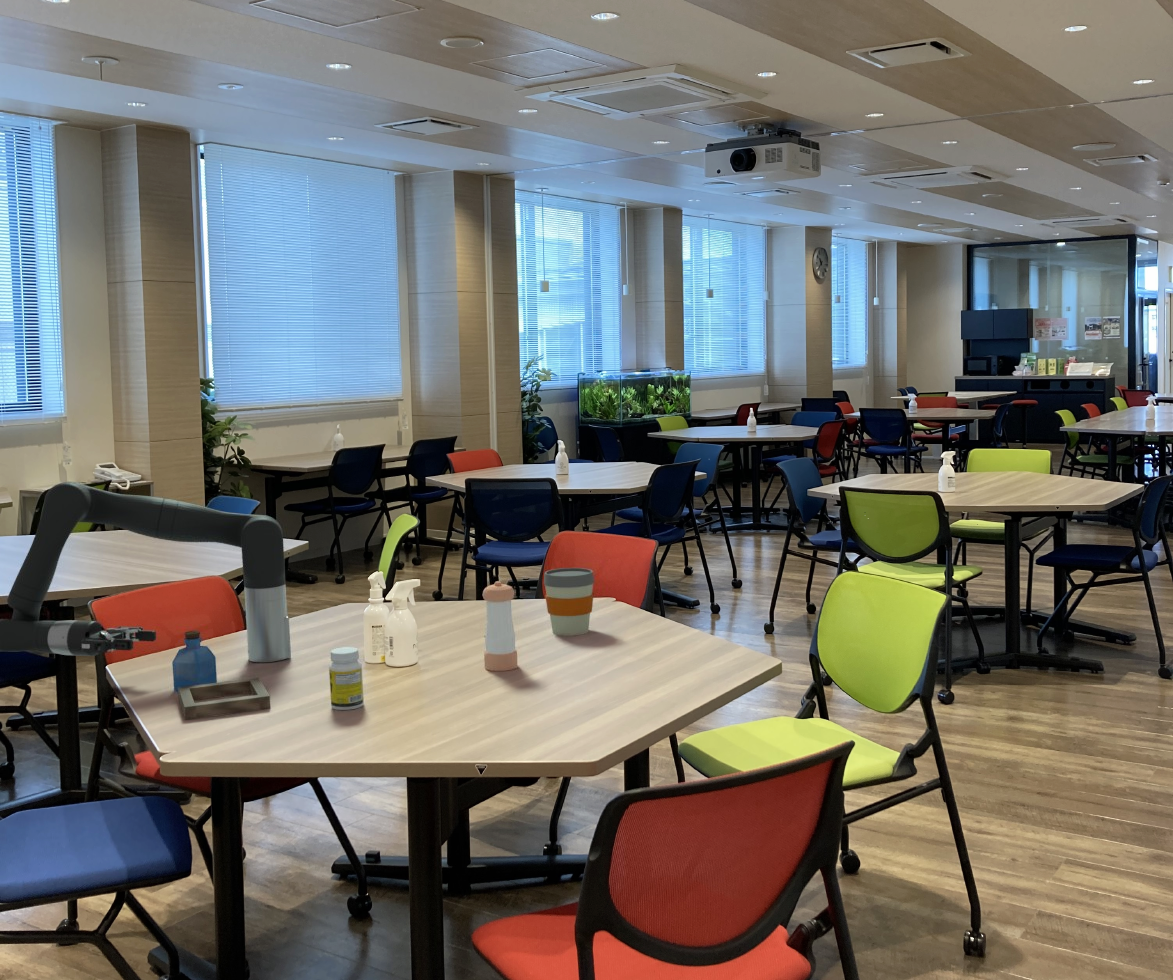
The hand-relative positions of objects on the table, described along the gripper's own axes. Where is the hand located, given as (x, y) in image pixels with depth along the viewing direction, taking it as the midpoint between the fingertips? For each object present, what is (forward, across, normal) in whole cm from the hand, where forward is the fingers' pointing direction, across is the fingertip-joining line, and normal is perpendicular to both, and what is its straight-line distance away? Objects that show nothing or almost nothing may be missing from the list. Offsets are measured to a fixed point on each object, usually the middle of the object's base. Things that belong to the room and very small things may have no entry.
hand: (144, 640), depth 251 cm
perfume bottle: (+12, 0, +10) cm, 15 cm away
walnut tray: (+24, -11, +10) cm, 28 cm away
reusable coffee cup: (+80, +59, +8) cm, 100 cm away
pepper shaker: (+72, +23, +9) cm, 76 cm away
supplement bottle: (+50, -10, +10) cm, 52 cm away
